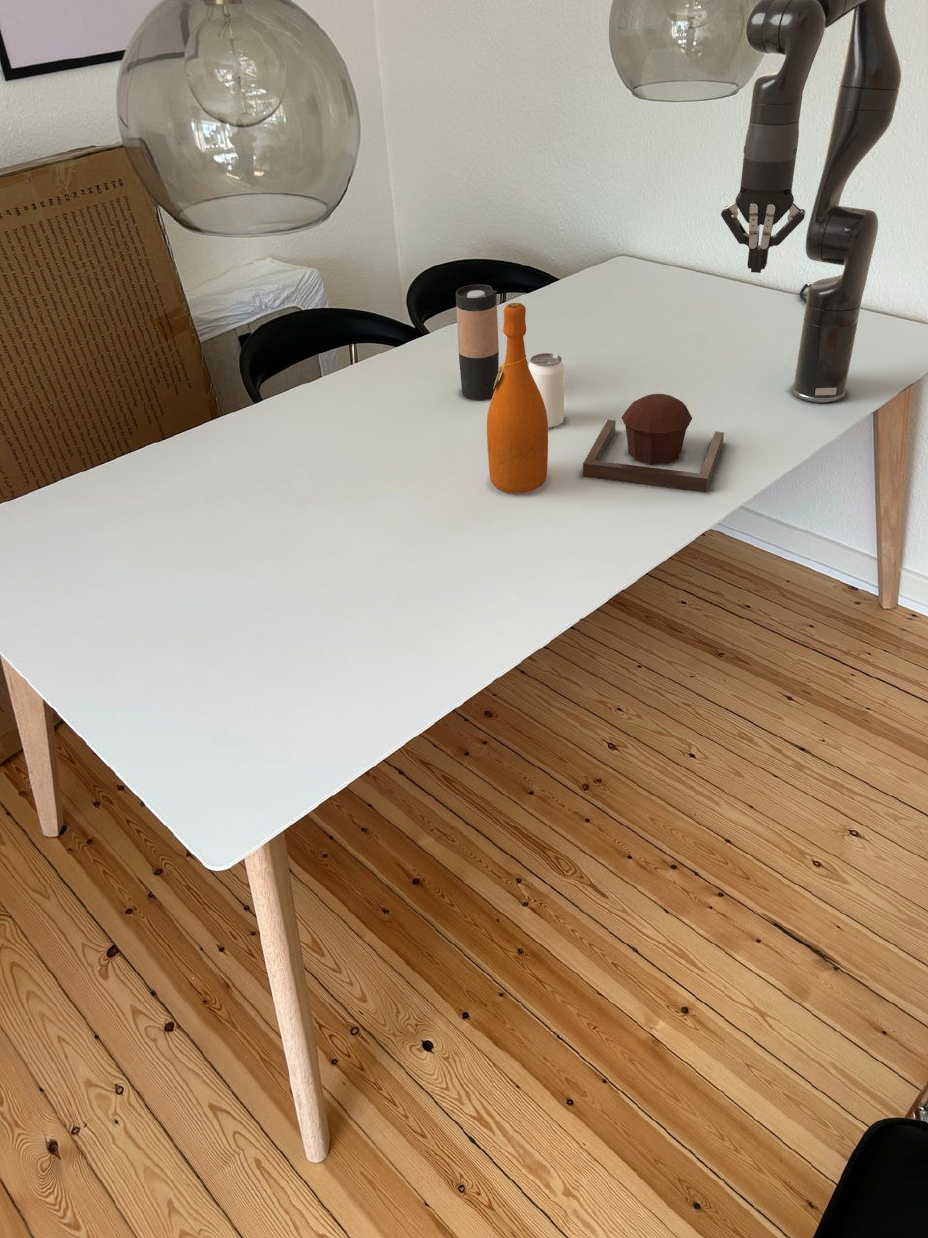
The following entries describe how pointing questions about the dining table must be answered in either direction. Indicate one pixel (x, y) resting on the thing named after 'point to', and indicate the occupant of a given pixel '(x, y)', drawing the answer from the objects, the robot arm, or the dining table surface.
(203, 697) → the dining table surface
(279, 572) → the dining table surface
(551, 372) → the can
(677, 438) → the muffin
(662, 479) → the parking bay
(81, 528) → the dining table surface
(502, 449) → the wine bottle
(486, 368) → the travel mug
